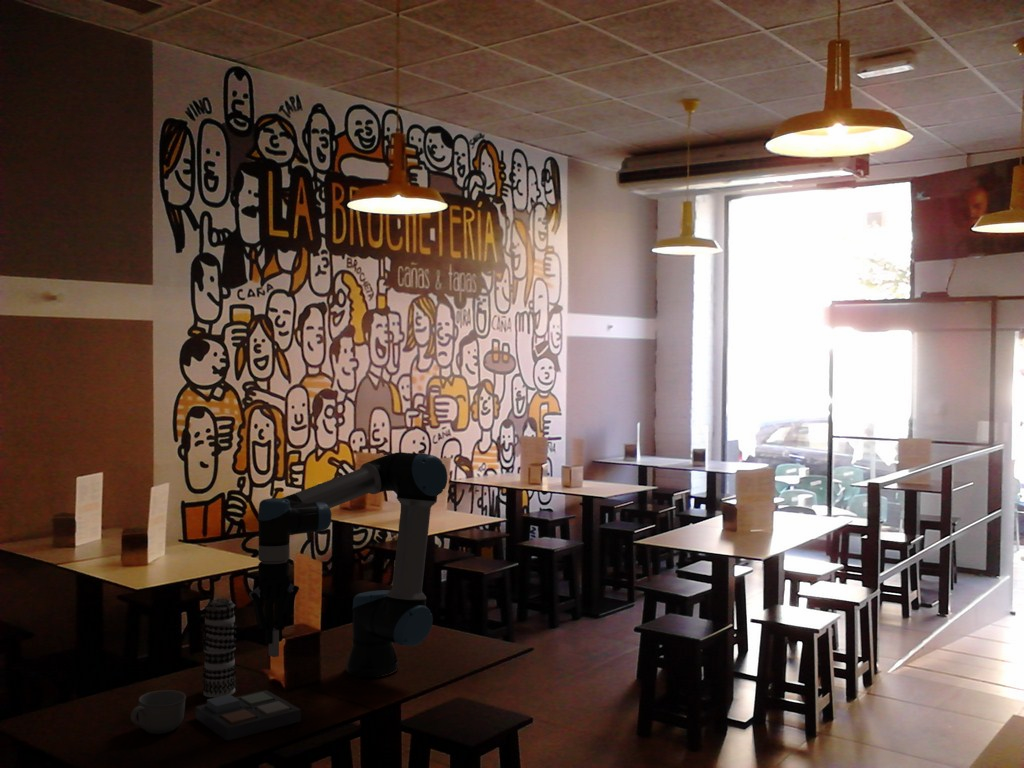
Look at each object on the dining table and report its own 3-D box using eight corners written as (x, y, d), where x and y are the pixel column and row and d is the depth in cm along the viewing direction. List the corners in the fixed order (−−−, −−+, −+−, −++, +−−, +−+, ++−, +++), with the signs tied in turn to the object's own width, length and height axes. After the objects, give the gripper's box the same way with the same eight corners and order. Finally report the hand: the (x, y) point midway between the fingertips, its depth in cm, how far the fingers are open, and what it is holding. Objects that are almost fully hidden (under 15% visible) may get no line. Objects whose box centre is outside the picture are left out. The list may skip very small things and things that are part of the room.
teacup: (171, 718, 222) (171, 686, 222) (194, 728, 215) (194, 695, 215) (116, 734, 211) (117, 700, 211) (139, 746, 204) (139, 711, 205)
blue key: (229, 706, 226) (229, 694, 226) (239, 712, 221) (239, 700, 221) (206, 711, 222) (206, 699, 222) (216, 718, 217) (216, 706, 217)
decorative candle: (194, 693, 240) (195, 601, 240) (223, 684, 248) (223, 595, 248) (214, 700, 235) (215, 606, 235) (243, 691, 242) (244, 599, 243)
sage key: (262, 703, 231) (262, 692, 231) (273, 709, 227) (273, 698, 227) (240, 708, 227) (240, 697, 228) (251, 715, 223) (251, 703, 223)
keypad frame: (266, 701, 234) (266, 690, 234) (300, 721, 220) (300, 709, 220) (195, 718, 222) (195, 706, 222) (227, 741, 207) (227, 728, 207)
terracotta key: (244, 721, 219) (245, 709, 219) (255, 728, 214) (255, 716, 214) (221, 727, 215) (221, 715, 215) (231, 734, 210) (232, 722, 210)
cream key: (278, 712, 225) (278, 701, 225) (289, 719, 220) (289, 707, 220) (256, 718, 221) (256, 706, 221) (267, 725, 216) (267, 713, 216)
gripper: (290, 555, 228) (290, 647, 228) (242, 562, 219) (242, 657, 219) (304, 559, 222) (304, 653, 222) (256, 566, 214) (255, 664, 214)
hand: (273, 655), depth 221 cm, fingers closed
